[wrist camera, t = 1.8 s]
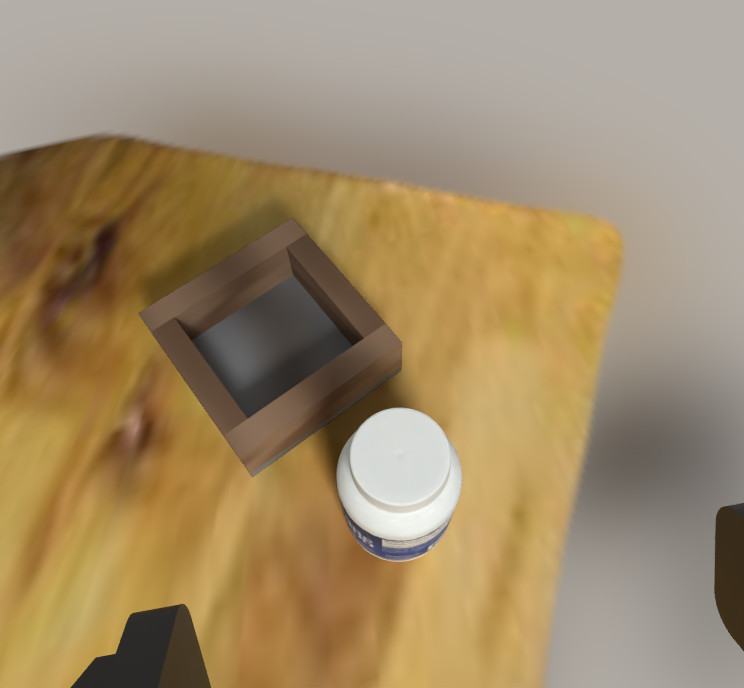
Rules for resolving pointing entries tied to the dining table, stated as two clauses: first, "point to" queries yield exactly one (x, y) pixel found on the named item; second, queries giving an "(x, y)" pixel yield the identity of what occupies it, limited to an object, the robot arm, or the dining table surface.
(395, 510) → the pill bottle
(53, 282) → the dining table surface
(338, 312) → the square tray
